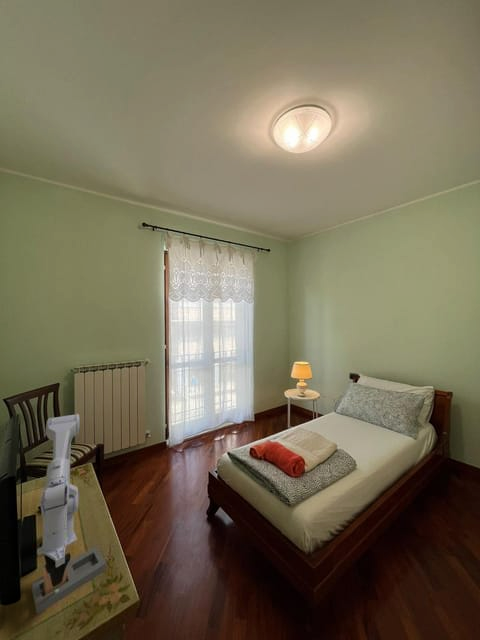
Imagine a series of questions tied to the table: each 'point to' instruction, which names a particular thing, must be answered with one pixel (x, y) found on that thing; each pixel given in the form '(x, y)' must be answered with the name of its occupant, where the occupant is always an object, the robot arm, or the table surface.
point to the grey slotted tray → (70, 579)
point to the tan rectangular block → (48, 584)
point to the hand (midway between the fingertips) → (54, 574)
